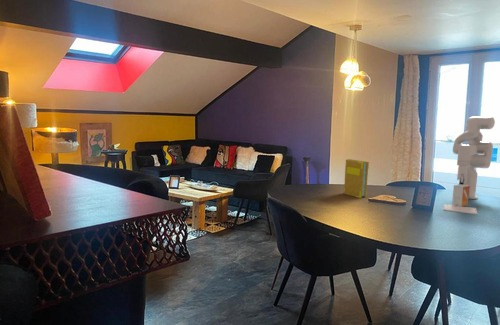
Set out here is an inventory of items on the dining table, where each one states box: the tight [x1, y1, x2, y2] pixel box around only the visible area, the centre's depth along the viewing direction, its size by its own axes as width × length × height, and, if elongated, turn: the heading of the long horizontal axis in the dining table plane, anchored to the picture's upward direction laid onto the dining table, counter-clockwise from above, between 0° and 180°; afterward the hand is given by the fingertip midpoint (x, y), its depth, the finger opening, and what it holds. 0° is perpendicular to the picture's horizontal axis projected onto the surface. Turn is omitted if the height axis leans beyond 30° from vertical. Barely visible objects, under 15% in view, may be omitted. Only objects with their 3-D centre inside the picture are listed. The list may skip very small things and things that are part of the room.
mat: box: [443, 203, 478, 215], centre depth 240 cm, size 16×18×1 cm
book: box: [343, 158, 370, 199], centre depth 274 cm, size 17×7×25 cm, turn 34°
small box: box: [451, 183, 470, 207], centre depth 249 cm, size 8×6×13 cm
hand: (460, 190), depth 256 cm, fingers closed
